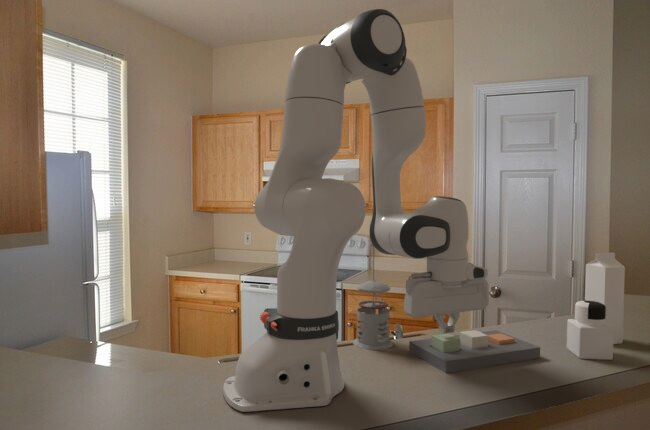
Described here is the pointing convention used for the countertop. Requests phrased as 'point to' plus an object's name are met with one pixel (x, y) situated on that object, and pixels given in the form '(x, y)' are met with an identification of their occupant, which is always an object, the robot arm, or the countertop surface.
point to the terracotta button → (500, 339)
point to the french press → (373, 318)
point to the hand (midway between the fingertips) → (446, 332)
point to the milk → (607, 290)
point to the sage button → (445, 343)
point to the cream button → (473, 339)
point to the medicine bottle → (590, 332)
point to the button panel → (474, 354)
